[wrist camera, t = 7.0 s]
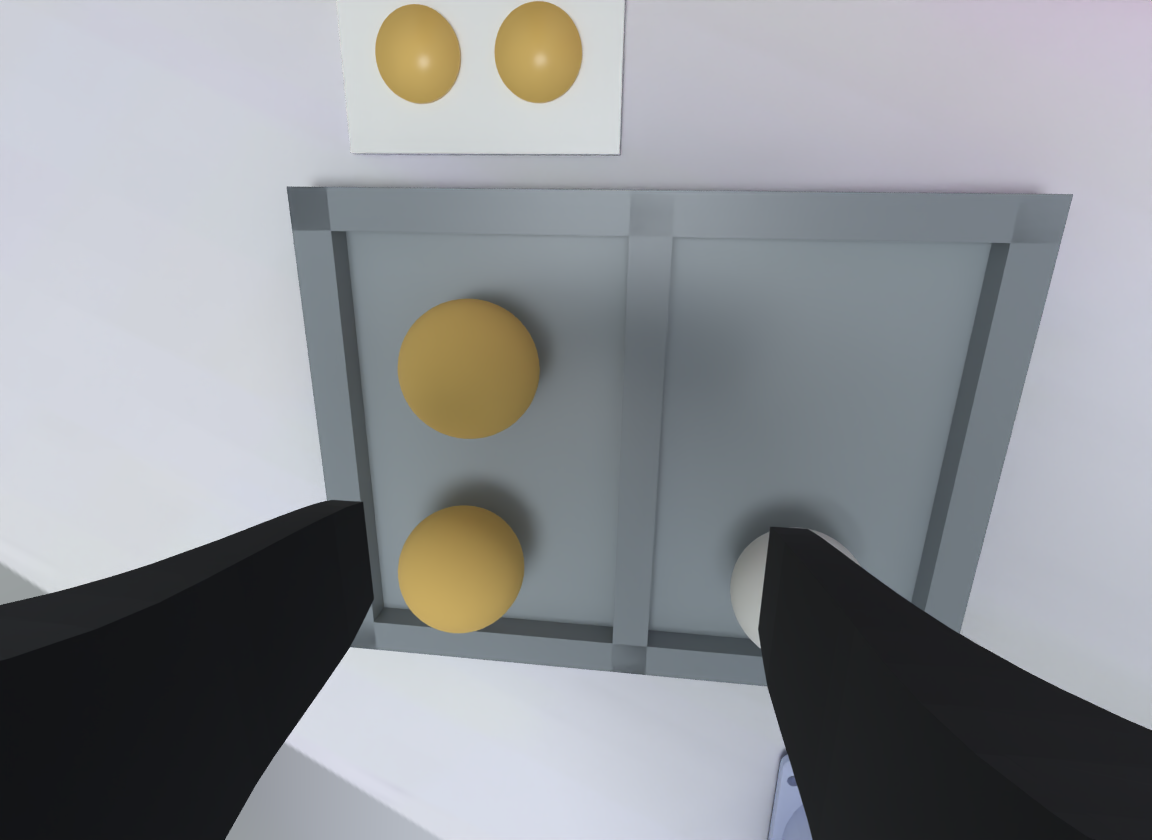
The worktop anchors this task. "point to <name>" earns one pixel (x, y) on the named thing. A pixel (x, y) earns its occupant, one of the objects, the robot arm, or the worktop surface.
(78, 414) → the worktop surface
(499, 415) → the amber ball
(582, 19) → the card
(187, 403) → the worktop surface
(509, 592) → the amber ball
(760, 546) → the ivory ball
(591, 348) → the sorting tray
